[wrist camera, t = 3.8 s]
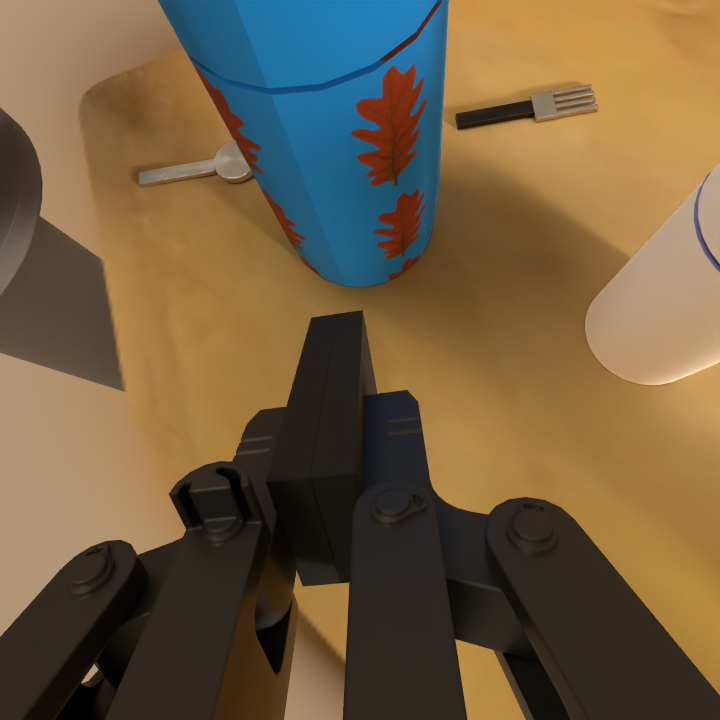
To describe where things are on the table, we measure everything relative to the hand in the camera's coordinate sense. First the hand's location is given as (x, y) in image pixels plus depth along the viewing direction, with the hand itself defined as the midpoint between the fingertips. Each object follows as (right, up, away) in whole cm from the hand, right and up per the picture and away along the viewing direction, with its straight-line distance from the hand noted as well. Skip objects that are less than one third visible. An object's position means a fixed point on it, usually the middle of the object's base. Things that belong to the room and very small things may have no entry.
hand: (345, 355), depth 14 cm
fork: (+13, +18, +21) cm, 31 cm away
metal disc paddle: (-12, +15, +23) cm, 30 cm away
